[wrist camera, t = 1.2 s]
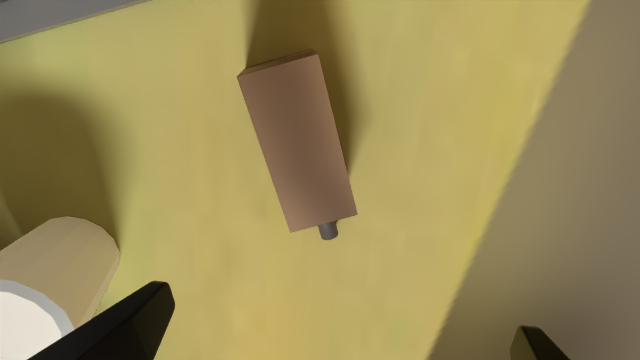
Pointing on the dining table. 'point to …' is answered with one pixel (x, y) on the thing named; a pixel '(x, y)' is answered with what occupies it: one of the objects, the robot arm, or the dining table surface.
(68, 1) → the grooved grey tray
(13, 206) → the dining table surface
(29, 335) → the short tan cylinder
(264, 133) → the walnut plug
